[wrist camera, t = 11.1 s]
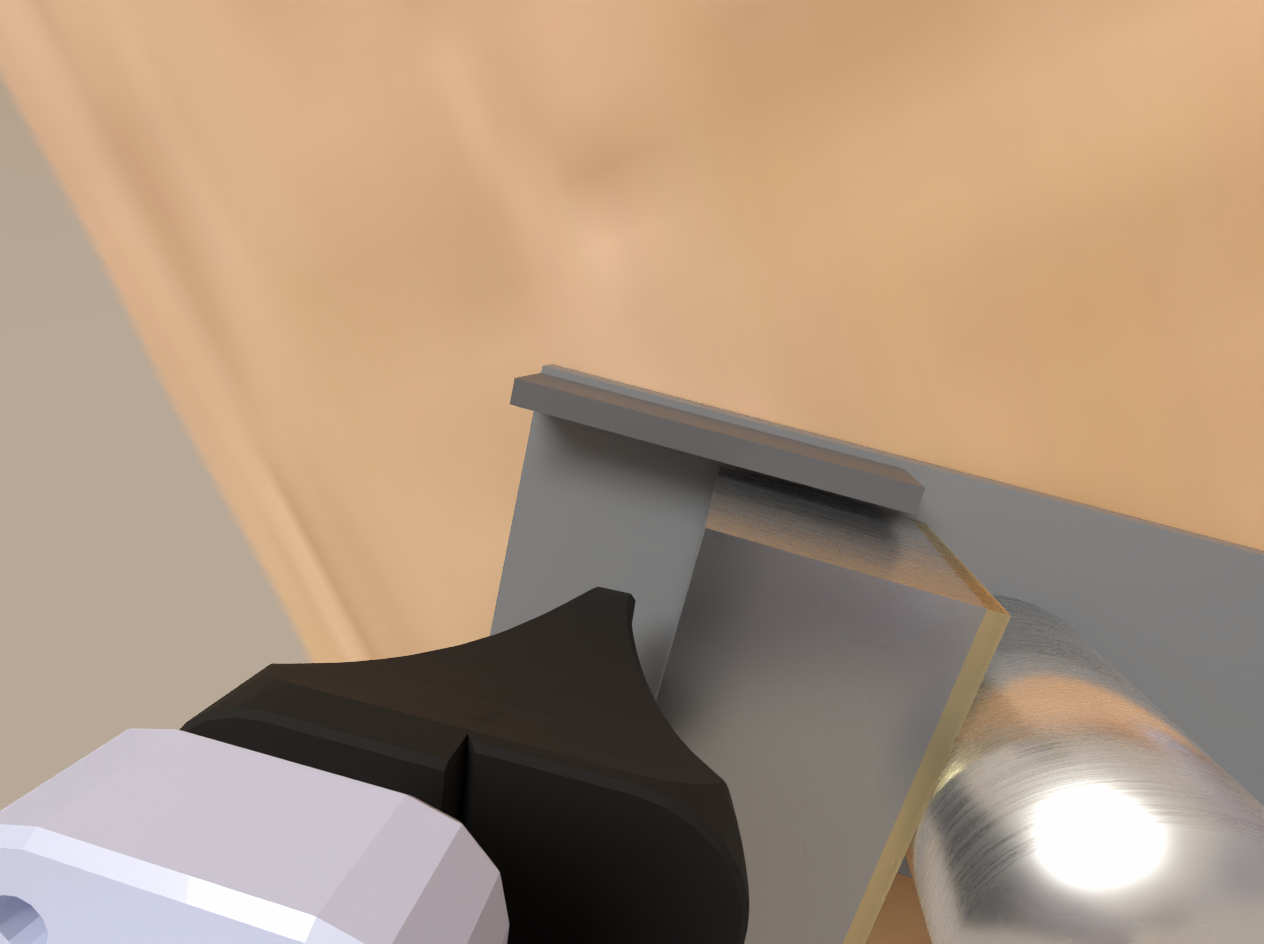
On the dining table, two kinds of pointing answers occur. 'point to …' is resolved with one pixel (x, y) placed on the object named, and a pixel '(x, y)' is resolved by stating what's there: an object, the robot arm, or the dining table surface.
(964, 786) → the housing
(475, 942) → the robot arm
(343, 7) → the dining table surface
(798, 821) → the block
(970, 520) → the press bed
